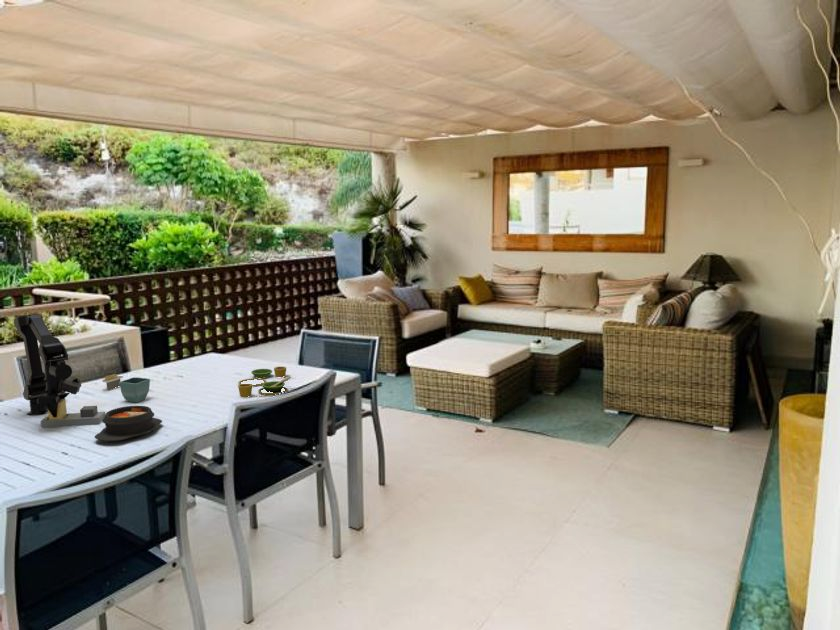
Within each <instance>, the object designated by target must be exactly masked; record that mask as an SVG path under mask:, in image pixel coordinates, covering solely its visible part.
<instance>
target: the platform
mask: <svg viewBox="0 0 840 630" xmlns="http://www.w3.org/2000/svg"><path fill="white" fill-rule="evenodd" d="M123 378H124V376H122V375H118V373H117V374H115V373H112V374H110V375H107V376H104V379H102V380H101V382H103V383H106V384H105V385H106V391H107V390H109V391H111V390H110V389H112V390H114V389H113V388H115V387H118V386H120V384H119V382H121V379H123ZM118 388H119V387H118ZM115 389H116V388H115Z"/></svg>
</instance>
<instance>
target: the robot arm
mask: <svg viewBox="0 0 840 630" xmlns="http://www.w3.org/2000/svg"><path fill="white" fill-rule="evenodd" d="M13 325H14V327H15V329H16V332H17V333H18V334H19V335H20V336H21V337H22V339H23V344H24V350H25V351H24V352H25V357H26V364H27V370H28V376H27V377H26V380H25V386H24V389H23V392H22V396H23V399H25V400H26V401H29V409H30V411H29V412H27V413H26V415H27V416H28V415H31V416H33V415H45V414H46V413H48V410H49V412H50V413H51V414H52V416H53V417H57V411H58V403H59V402H60V401H61V400H62V399H65V400H66V397H68V395H70V394H71V395H76V394H77V393H79V392H80V388H81V387H82V382H81V379H80V378H79V377H78V378H77V377H75V378H74V379H73V380H72V379H69V378H70V377H71V376H72V373H73V368H72V367H71V366H70V365H69V364H66V361H68V360H69V353H68V350H67V349H66V347H65V346H64V344H63V343H62V342H61V340H60V339H59V338H58V337H56V336H53V335H52V333H51V331H50V330H49V328H48V326H47V325H46V323H45V321H44V318H43V315H42V313H30V314H20V315H19V314H18V315H16V318H14V319H13ZM42 362H43V365H42ZM43 367H44V368H43ZM43 369H44V371H43ZM68 379H69V380H68Z"/></svg>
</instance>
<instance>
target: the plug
mask: <svg viewBox="0 0 840 630" xmlns="http://www.w3.org/2000/svg"><path fill="white" fill-rule="evenodd" d="M66 400H67V399H66V398H65V399H62V400H61V401H60V402H59V403H58V411H57V417H53V416H52V414H51V413H50V412H49V410H48V412H47V413H48V414H47V415H49V420H56V419H64V418H66V417H67V413H68V411H67V401H66Z"/></svg>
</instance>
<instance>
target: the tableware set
mask: <svg viewBox="0 0 840 630" xmlns="http://www.w3.org/2000/svg"><path fill="white" fill-rule="evenodd" d="M273 371H274V376H275V378H276V377H283V376H285V377H284V378H285V379H284V378H282V379H281V380H279V381H276V380H273V381H272V380H271V381H267V380H266V379H265V378H263V377H268V376H269V377H270V376H271V374H272V373H273ZM251 374H252V376H253V377H254V378H245V379H242V380H239V381H238V382H237V383H238V385H237V386H238V387H237V388H238V392H239V397H240V396H241V397H248V396H252V393H253V387H252V386H255V387H258V386H257V385H260V386H261V388H259V389H258V393H259V394H260V393H261V394H260V395H261V396H260V395H258V396H259V397H269V396H267V395H273V396H276V395H275V394H279V393H282V392H281V389H282V388H284V389H285V391H283V392H285V393H286V392H288V387H283V386H284V385H286V381H288V380H290V379H292V376H291V375H286V374H287V366H275V367H274V368H273V370H272V369H271V368H259V369H258V368H257V369H253V370H252V371H251ZM286 376H287V377H286ZM290 376H291V377H290ZM255 377H258V378H263V379H258V378H255ZM269 377H268V378H269ZM254 379H257V380H263V381H264V383H261V384H256V385H252V384H241V382H243V381H247V380H254ZM263 389H265V390H266V391H267V392H269V391H270V392H273V393H262V392H261V390H263ZM262 394H265V395H262ZM241 397H240V398H241ZM248 398H249V397H248Z"/></svg>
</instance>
